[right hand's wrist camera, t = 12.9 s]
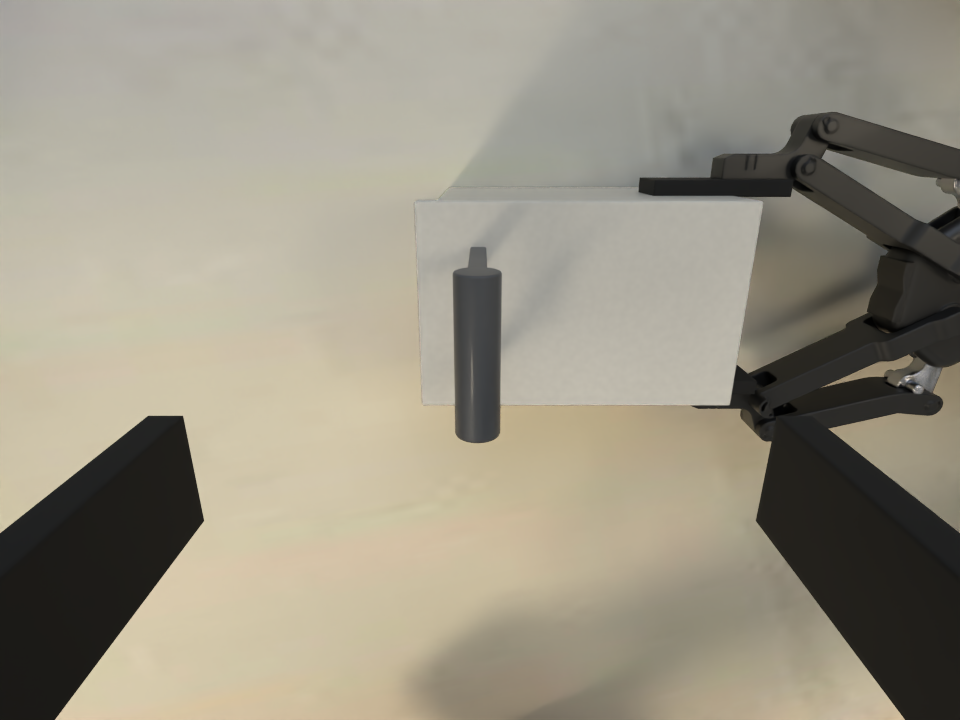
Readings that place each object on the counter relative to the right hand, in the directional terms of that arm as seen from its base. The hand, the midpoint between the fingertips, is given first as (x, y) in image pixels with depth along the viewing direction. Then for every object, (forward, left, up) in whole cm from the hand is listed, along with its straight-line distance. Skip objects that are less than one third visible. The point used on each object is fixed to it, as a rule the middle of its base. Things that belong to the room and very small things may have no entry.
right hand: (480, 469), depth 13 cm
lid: (+3, -4, -14) cm, 15 cm away
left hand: (+5, -6, -18) cm, 20 cm away
